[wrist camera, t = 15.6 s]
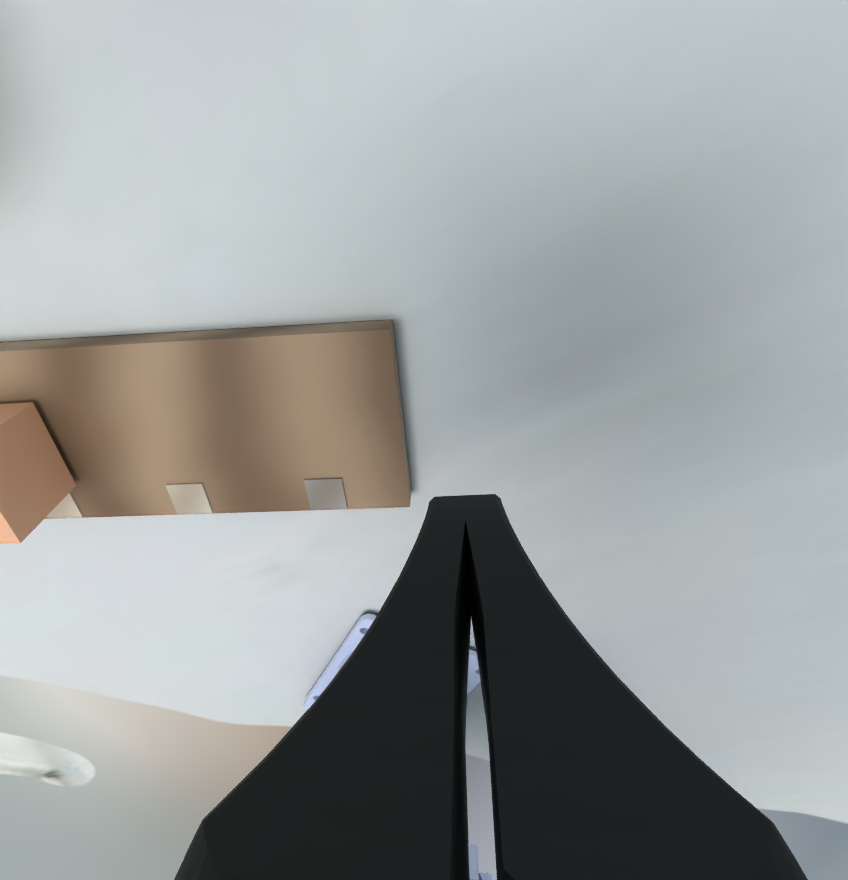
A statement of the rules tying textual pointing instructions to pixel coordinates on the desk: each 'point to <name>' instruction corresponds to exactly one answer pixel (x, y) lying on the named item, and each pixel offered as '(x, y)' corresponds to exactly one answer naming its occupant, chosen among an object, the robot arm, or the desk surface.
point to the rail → (220, 418)
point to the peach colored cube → (28, 472)
